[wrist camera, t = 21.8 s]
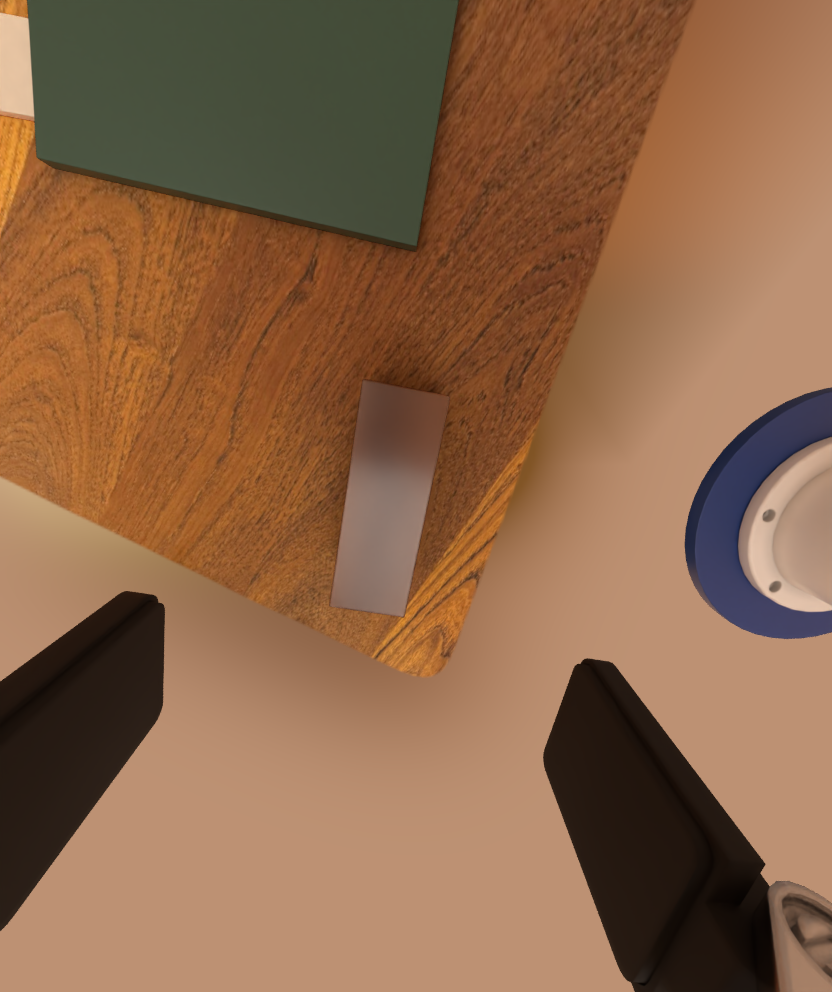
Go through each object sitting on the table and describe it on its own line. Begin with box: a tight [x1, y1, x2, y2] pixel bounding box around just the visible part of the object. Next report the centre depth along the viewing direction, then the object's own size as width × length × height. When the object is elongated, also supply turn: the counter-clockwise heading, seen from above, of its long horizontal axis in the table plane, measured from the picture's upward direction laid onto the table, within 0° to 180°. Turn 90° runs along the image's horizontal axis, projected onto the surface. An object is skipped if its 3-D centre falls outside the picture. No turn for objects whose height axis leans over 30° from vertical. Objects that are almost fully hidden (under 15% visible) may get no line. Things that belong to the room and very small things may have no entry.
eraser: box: [329, 379, 450, 617], centre depth 24 cm, size 4×13×6 cm, turn 169°
